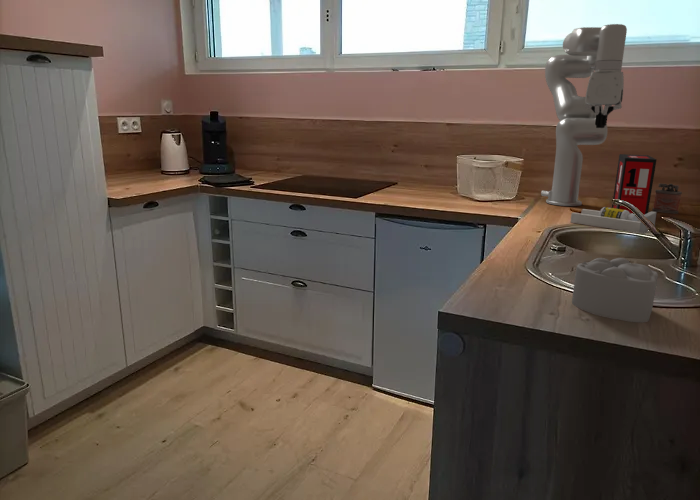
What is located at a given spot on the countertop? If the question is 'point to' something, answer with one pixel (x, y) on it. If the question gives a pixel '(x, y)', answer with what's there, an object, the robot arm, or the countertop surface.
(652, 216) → the u rest
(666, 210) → the lighter
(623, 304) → the lumpy-topped squat cylinder
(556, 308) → the countertop surface
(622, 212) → the supplement bottle
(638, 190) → the cleaning product box
